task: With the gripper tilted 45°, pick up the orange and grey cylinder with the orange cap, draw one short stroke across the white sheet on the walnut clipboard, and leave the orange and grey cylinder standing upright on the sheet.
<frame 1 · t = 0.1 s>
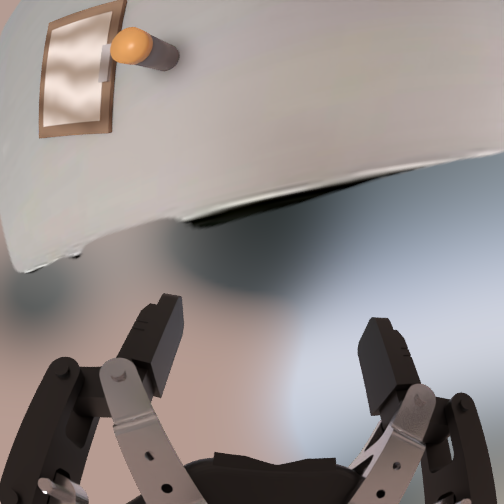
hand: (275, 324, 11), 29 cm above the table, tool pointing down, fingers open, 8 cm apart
orange and grey cylinder: (165, 57, 30), on the table
clipboard: (76, 70, 30), on the table
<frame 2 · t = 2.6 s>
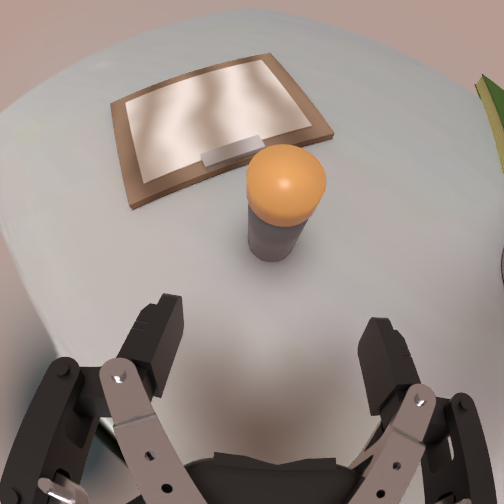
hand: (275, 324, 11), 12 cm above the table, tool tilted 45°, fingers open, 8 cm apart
orange and grey cylinder: (271, 239, 25), on the table
clipboard: (211, 114, 29), on the table
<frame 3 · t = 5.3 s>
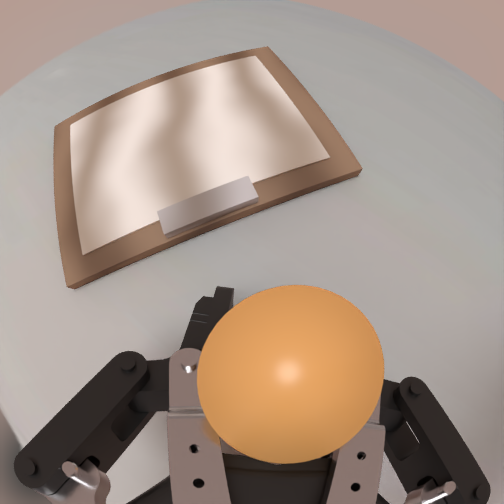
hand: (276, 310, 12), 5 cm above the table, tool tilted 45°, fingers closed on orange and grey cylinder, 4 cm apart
orange and grey cylinder: (264, 346, 16), on the table, touching gripper
clipboard: (180, 138, 20), on the table
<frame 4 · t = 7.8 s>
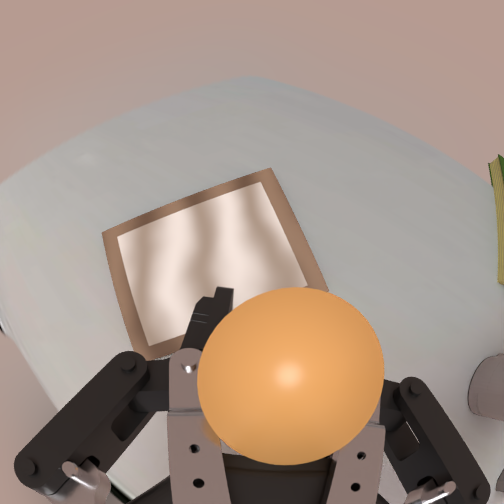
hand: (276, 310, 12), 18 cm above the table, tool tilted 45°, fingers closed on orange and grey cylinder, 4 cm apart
orange and grey cylinder: (265, 347, 16), point 13 cm above the table, touching gripper
clipboard: (206, 262, 31), on the table
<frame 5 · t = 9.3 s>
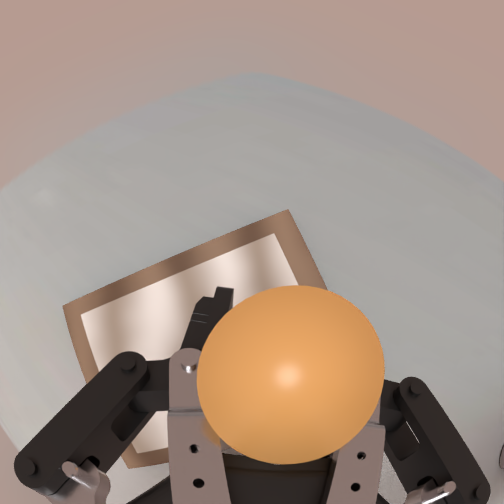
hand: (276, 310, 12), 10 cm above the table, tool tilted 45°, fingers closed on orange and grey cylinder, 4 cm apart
orange and grey cylinder: (265, 346, 16), point 5 cm above the table, touching gripper
clipboard: (202, 353, 21), on the table
when the fingers open (7 cm above the table, at t = 13.4 s): orange and grey cylinder stays where it is, resting on clipboard.
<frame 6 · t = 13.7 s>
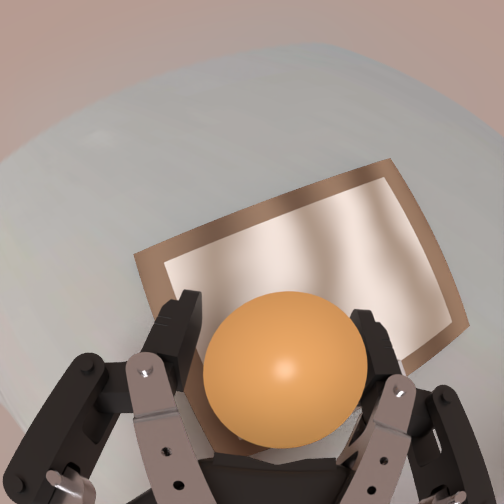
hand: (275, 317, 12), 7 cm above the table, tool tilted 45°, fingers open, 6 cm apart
orange and grey cylinder: (263, 346, 17), point 1 cm above the table, touching clipboard
clipboard: (322, 301, 19), on the table
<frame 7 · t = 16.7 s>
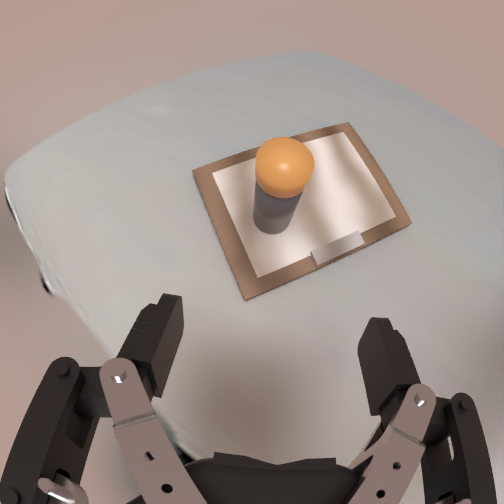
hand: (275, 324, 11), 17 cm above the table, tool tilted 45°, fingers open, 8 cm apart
orange and grey cylinder: (271, 216, 30), point 1 cm above the table, touching clipboard
clipboard: (306, 197, 32), on the table
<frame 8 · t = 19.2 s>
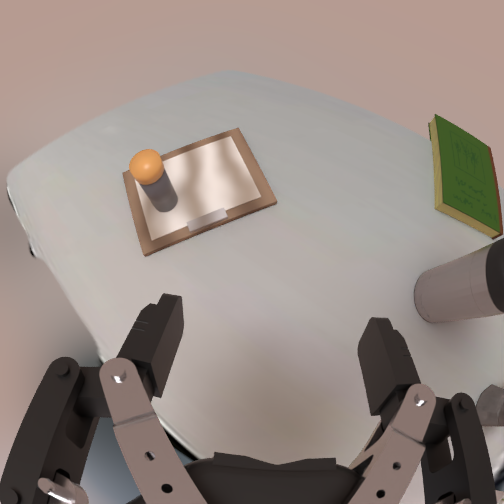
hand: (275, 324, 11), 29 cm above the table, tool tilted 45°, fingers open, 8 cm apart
orange and grey cylinder: (165, 200, 42), point 1 cm above the table, touching clipboard
coffeepot: (489, 401, 35), on the table
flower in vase: (468, 483, 29), on the table
clipboard: (194, 187, 44), on the table
hardcover book: (462, 176, 48), on the table
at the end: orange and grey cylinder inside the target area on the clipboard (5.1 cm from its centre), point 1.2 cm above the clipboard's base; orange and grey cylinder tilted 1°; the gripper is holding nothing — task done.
